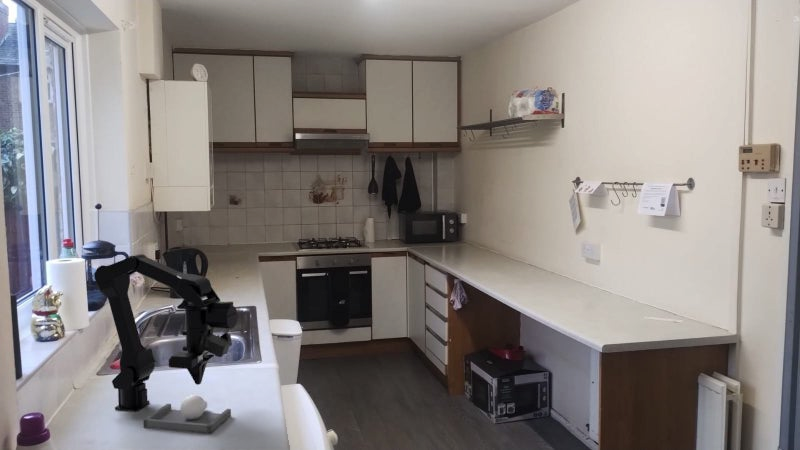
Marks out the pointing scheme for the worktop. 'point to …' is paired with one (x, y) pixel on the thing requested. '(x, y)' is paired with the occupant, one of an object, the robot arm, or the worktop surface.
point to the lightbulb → (193, 407)
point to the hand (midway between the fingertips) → (198, 384)
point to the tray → (185, 421)
